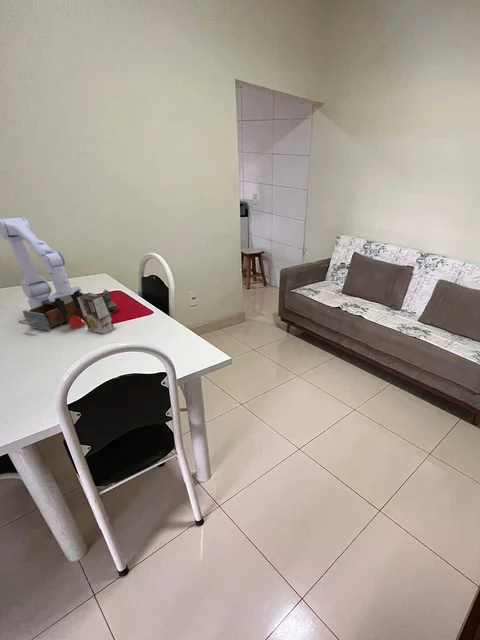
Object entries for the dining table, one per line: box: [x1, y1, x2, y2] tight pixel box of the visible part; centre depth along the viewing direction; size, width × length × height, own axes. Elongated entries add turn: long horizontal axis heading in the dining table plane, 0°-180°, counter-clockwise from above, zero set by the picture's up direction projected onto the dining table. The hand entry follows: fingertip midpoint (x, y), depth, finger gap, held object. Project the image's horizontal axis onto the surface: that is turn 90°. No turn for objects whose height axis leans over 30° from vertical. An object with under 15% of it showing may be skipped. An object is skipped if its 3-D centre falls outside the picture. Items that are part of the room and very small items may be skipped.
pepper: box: [69, 314, 84, 329], centre depth 149 cm, size 5×5×6 cm
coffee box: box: [77, 292, 115, 335], centre depth 145 cm, size 9×6×16 cm
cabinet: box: [41, 292, 85, 325], centre depth 158 cm, size 16×13×9 cm
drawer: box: [17, 304, 67, 331], centre depth 148 cm, size 19×11×7 cm, turn 163°
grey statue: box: [102, 288, 119, 315], centre depth 163 cm, size 6×6×12 cm
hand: (71, 311), depth 147 cm, fingers open, 7 cm apart
